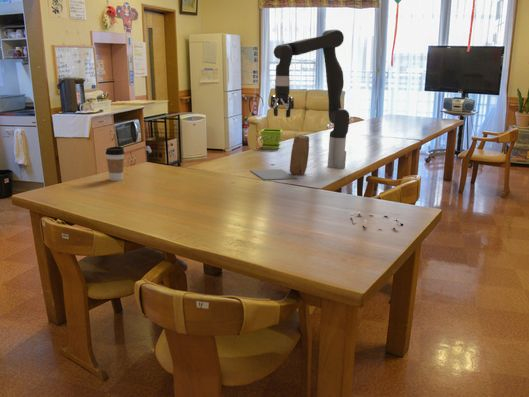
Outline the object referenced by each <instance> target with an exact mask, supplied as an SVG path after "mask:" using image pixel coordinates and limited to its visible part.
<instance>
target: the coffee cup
mask: <svg viewBox="0 0 529 397" xmlns="http://www.w3.org/2000/svg"><path fill="white" fill-rule="evenodd" d="M105 150H106V151H105V154H106V163H107V169H108V170H107V171H108V176H109V177H108V178H109V180H110V181H112V182H117V181H118V182H119V181H122V180H123V179H124V166H125V165H124V164H125V163H124V162H125V158H124V154H125V151H124V150H125V149H124V147H123V146H111V147H108V148H106V149H105Z"/></svg>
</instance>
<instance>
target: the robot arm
mask: <svg viewBox="0 0 529 397" xmlns="http://www.w3.org/2000/svg"><path fill="white" fill-rule="evenodd" d="M344 37H345V36H344V33H343V32H342V31H341V30H339V29H328V30H325V31H323V32H322V34H321V35H319V36H315V37H309V38H308V37H307V38H302V39H299V40H296V41H292V42H288V43H287V42H286V43H281V44H278V45H276V46H275V48H274V49H273V55H274V57H275V58H277V59H278V60H279V63H278V64H277V65H276V66H275V80H274V81H275V82H274V94H275V95H272V96H270V108H272V109H273V116H274V117H277V116H279V115H278V114H279V113H278V112H279V107H280V106H283V107H284V108H285V109H286V110H285V117H286V118H290V117H291V111H292V110H293V109H294V108H295V104H294V101H295V100H294V96H289V95H290V90H291V89H290V88H291V87H290V83H291V82H290V81H291V80H290V67H291V62H292V58H293V56H299V55H304V54H308V53H311V52H314V51H317V50H321V49H322V52H323V58H324V65H325V66H324V67H325V68H324V69H325V79H326V86H327V100H328V120H329V122H330V123H331V124H333V129H332V130H331V131H329V137H328V138H329V141H328V152H327V153H328V155H327V156H328V157H327V168H330V169H332V168H333V169H343V168H344V169H345V168H346V160H347V150H346V142H347V140H346V138H347V134H348V133H349V125H350V113H349V112H348V110H347V109H345V108H342V103H341V98H342V97H341V95H342V92H343V89H344V72H343V68H342V67H341V65H340V62H339V61H338V58H337V54H336V53H337V52H336V48H338V47H340V46H341V45H343V43H344V40H345V38H344Z"/></svg>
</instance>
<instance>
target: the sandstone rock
mask: <svg viewBox="0 0 529 397" xmlns="http://www.w3.org/2000/svg"><path fill="white" fill-rule="evenodd" d="M309 150H310V137H309V136H308V135H302V134H301V135H296V136H295V137H294V138H293V142H292V147H291V153H290V154H291V155H290V163H289V174H291V175H294V176H295V175H296V176H304V174H305V172H306V171H307V168H308V162H309V152H310V151H309Z"/></svg>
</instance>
